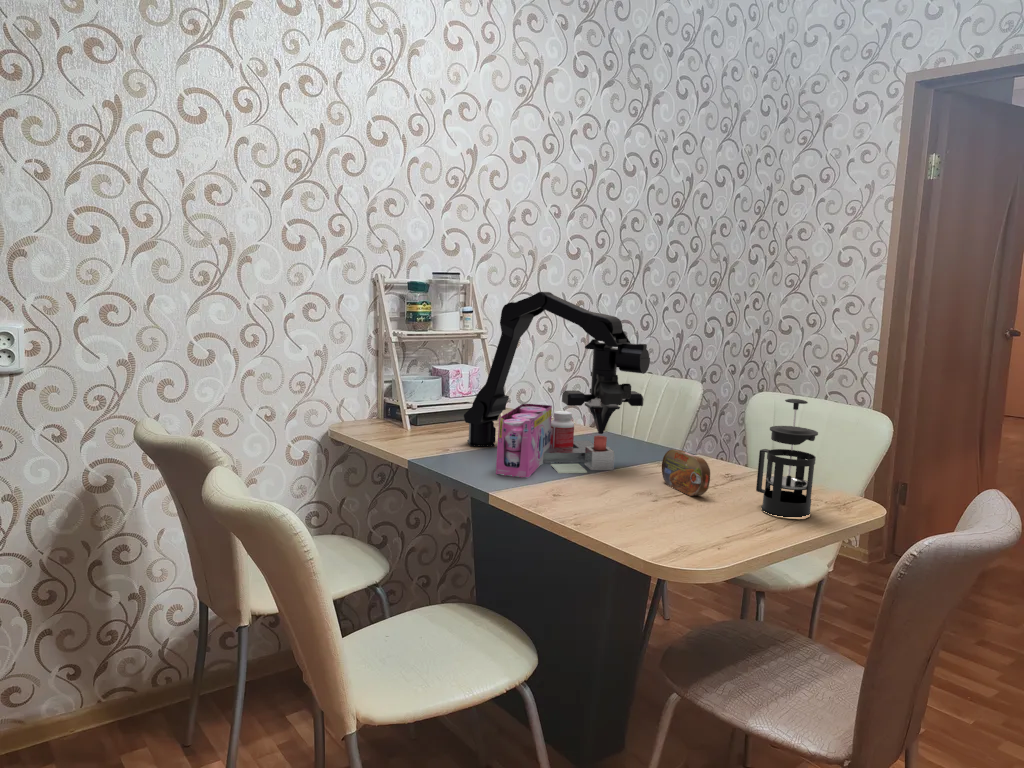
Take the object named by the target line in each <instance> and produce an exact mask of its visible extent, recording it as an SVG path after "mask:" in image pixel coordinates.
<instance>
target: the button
mask: <svg viewBox="0 0 1024 768" xmlns="http://www.w3.org/2000/svg"><path fill="white" fill-rule="evenodd" d="M607 439H608V437H607V436H606V435H594V436H593V444H594V449H595V450H601V451H602V450H606V446H607V443H608V442H607V441H608V440H607Z"/></svg>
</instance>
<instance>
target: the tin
mask: <svg viewBox="0 0 1024 768" xmlns="http://www.w3.org/2000/svg"><path fill="white" fill-rule="evenodd" d="M661 474H662V475H661V476H662V479H663V480H664V482H665V484H666V485H667V486H668V485H669V486H668V487H670V486H671V487H670V488H672V487H673V488H672V489H674V488H675V489H674V490H676V489H677V490H676V491H678V490H679V491H678V492H680V491H681V492H680V493H682V492H683V493H682V494H684V493H685V495H686V494H687V495H686V496H690V497H693V496H701V495H704V494H705V493H707V491H708V489H709V487H710V483H711V482H710V481H711V469H710V465H709V463H707V460H705V459H704V458H702V457H700V456H697V455H695V454H692V453H689V452H687V451H684V450H681V449H669V450H667V451H666V452H665V453H664V456H663V458H662V461H661Z"/></svg>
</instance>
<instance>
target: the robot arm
mask: <svg viewBox="0 0 1024 768" xmlns="http://www.w3.org/2000/svg"><path fill="white" fill-rule="evenodd" d="M545 311H547V312H548V313H551V314H553V315H556V316H558V317H560V318H562V319H564V320H566V321H568V322H569V323H572V324H574V325H577V326H579V327H580V328H581V329H582V330H583V331H584V332H585V333H586V334H587V335H588V336H590V337H592V338H593V339H591V341H590V342H588V343H587V344H586V345H585V346H584V348H585V349H586V350H593V351H592V353H593V354H592V366H591V367H592V369H591V371H590V376H591V385H590V388H589V393H588V394H587V393H583V392H582V391H580V390H567V389H566V390H564V391H563V392H562V394H561V395H562V396H561V402H562V403H564V404H565V405H567V406H571V407H572V406H574V407H575V406H577V407H581V406H583V405H584V406H585V407H586V408H588V409H589V411H590V413H591V415H592V417H593V420H594V423H595V427H596V430H597V432H598V434H600V435H603V434H604V432H605V429H606V428H607V425H608V422H609V420H610V418H611V417H612V414H613V413H615V411H616V410H620V409H621V407H620V406H621V405H622V404H623V403H628V404H629V405H630V406H631V407H643V406H644V396H643V395H642V393H639V392H638V391H634V390H632V385H631V383H621V384H620V383H619V377H618V376H619V375H618V374H617V369H619V371H621V372H625V373H632V374H633V373H635V374H646V373H647V372H648V370H649V367H650V363H651V357H650V354H649V350H648V348H647V346H648V344H646V343H638V344H637V343H631V341H630V340H629V338H628V336H627V334H626V333H625V331H624V329H623V324H622V320H621V319H620V318H619V317H617V316H614V315H609V314H606V313H600V312H595V311H591V310H588V309H586V308H583V307H581V306H579V305H577V304H575V303H572V302H570V301H568V300H567V299H566V300H565V299H563V298H561V297H559V296H557V295H554V294H553V293H552V292H550V291H537V292H536V293H535V294H533V295H531V296H529V297H525V298H523V299H520V300H518V301H516V302H515V301H514V302H513V301H511V302H508V303H506V304H504V305H503V307H502V309H501V314H500V318H499V319H500V320H499V325H500V330H501V334H500V338H499V341H498V343H497V347H496V350H495V353H494V357H493V359H492V364H491V367H490V370H489V373H488V375H487V379H486V381H485V384H484V385H483V386H482V387H481V388H480V390H479V391H478V392H477V394H476V396H475V398H474V399H473V403H472V406H471V407H470V408H469V409H468V410H467V411H466V412H465V413H464V414H463V419H464V422H465V423H467V424H468V439H466V440H467V443H468V445H469V446H470V447H495V443H496V430H497V428H496V427H495V422H497V421H499V418H500V415H501V414H502V413H503V411H506V410H507V408H506V407H507V403H508V401H509V399H510V396H509V395H506V394H505V385H506V383H507V382H506V381H507V378H508V376H509V373H510V369H511V367H512V363H513V362H514V358H515V354H516V350H517V348H518V344H519V341H520V339H521V337H522V336H523V335H524V334H525V333H526V332H527V331H528V329H529V328H530V326H531V323H532V321H533V320H534V318H535V317H537V316H539V315H541V314H542V313H543V312H545Z"/></svg>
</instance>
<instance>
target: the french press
mask: <svg viewBox="0 0 1024 768" xmlns="http://www.w3.org/2000/svg"><path fill="white" fill-rule="evenodd" d="M784 401H785V402H786V403H792V404H793V407H792V409H793V410H794V413H793V425H773V426H770V427H769V431H770V432H771V435H770V437H771V438H770V440H771V441H773V442H776V443H779V444H785V445H790V449H786V448H776V449H768V448H767V449H766V448H763V449H762V448H761V449H760V450H759V455H758V463H757V466H758V467H757V474H756V475H757V478H756V487H755V489H756V490H755V491H756V492H758V493H761V494H763V495H762V505H761V507H760V509H761V508H762V510H763V511H765V512H767V513H769V514H772V515H777V516H783V517H802V516H806V515H809V514H810V513H811V507H812V499H811V498H812V488H813V481H814V480H813V479H814V470H815V464H816V456H815V454H812V453H809V452H805V451H801V450H795V449H794V446H799V445H801V444H803V443H805V441H809V442H814V441H815V440H816V437H817V436H818V435H819V432H818V431H817V430H815V429H811V428H807V427H800V426H796V419H797V411H799V406H800V404H801V405H806V404H809V402H808V401H807V400H804V399H799V398H787V399H785V400H784ZM765 456H766V457H765ZM782 456H785V457H782ZM786 456H787V457H789V458H786ZM793 457H795V458H796V459H795V458H793ZM765 458H766V459H767V463H766V464H767V465H766V473H765V475H766V476H765V485H764V488H763V479H764V478H763V477H764V468H765V467H764V466H765ZM773 464H774V472H773ZM785 466H788V475H787V476H785V475H784V467H785ZM792 467H795V475H794V477H793V476H792V475H791V473H792V472H791V471H792ZM806 467H808V472H807V474H808V475H807V480H805V469H806ZM772 473H773V474H772ZM772 475H773V476H772ZM771 487H772V490H771ZM803 491H805V492H806V493H805V494H803ZM762 510H761V511H762Z"/></svg>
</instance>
